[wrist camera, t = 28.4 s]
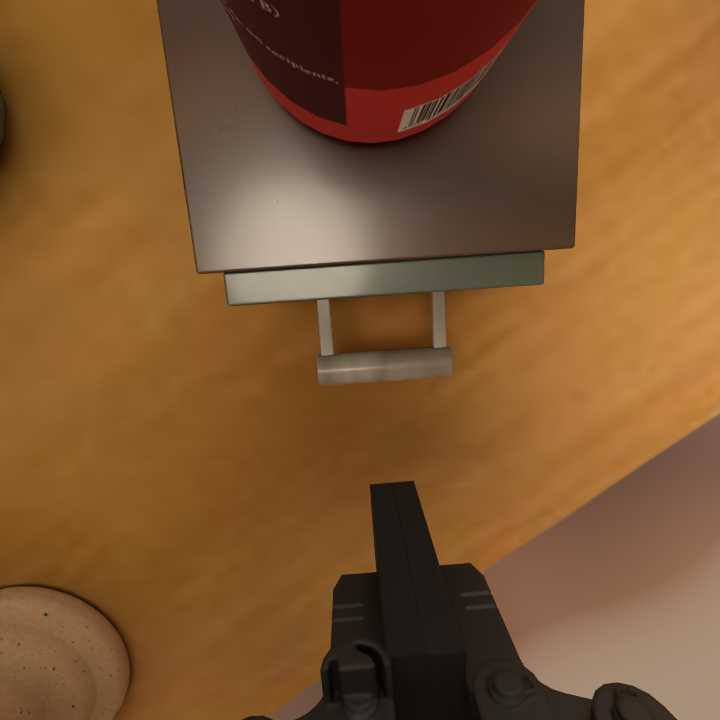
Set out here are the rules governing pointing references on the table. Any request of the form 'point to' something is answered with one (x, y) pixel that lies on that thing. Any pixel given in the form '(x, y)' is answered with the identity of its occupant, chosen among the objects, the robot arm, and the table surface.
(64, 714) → the candle holder
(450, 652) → the robot arm
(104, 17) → the table surface
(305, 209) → the cabinet
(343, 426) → the table surface
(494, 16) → the canned food
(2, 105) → the bottle
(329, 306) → the drawer
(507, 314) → the table surface
